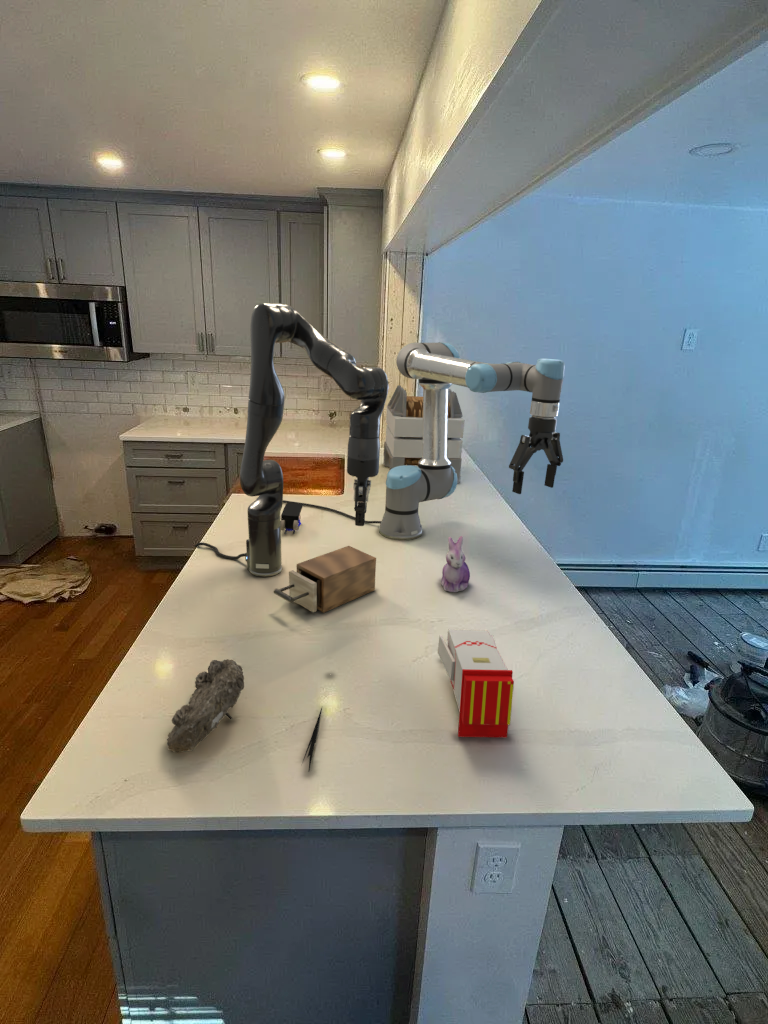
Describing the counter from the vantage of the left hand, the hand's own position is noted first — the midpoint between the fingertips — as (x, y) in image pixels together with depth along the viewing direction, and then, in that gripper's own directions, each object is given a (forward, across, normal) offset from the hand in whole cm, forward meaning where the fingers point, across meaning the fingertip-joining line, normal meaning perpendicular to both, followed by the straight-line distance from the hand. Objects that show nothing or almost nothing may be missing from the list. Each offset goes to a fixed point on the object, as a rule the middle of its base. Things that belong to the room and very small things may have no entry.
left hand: (360, 518), depth 138 cm
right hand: (-1, -28, +48) cm, 56 cm away
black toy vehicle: (+27, -55, -27) cm, 67 cm away
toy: (+26, +30, +26) cm, 47 cm away
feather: (+26, +41, -4) cm, 49 cm away
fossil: (+26, +42, -25) cm, 55 cm away
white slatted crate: (+27, -136, +21) cm, 140 cm away
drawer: (+25, -5, -11) cm, 28 cm away
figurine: (+26, -18, +27) cm, 42 cm away
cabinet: (+26, -10, -6) cm, 29 cm away
